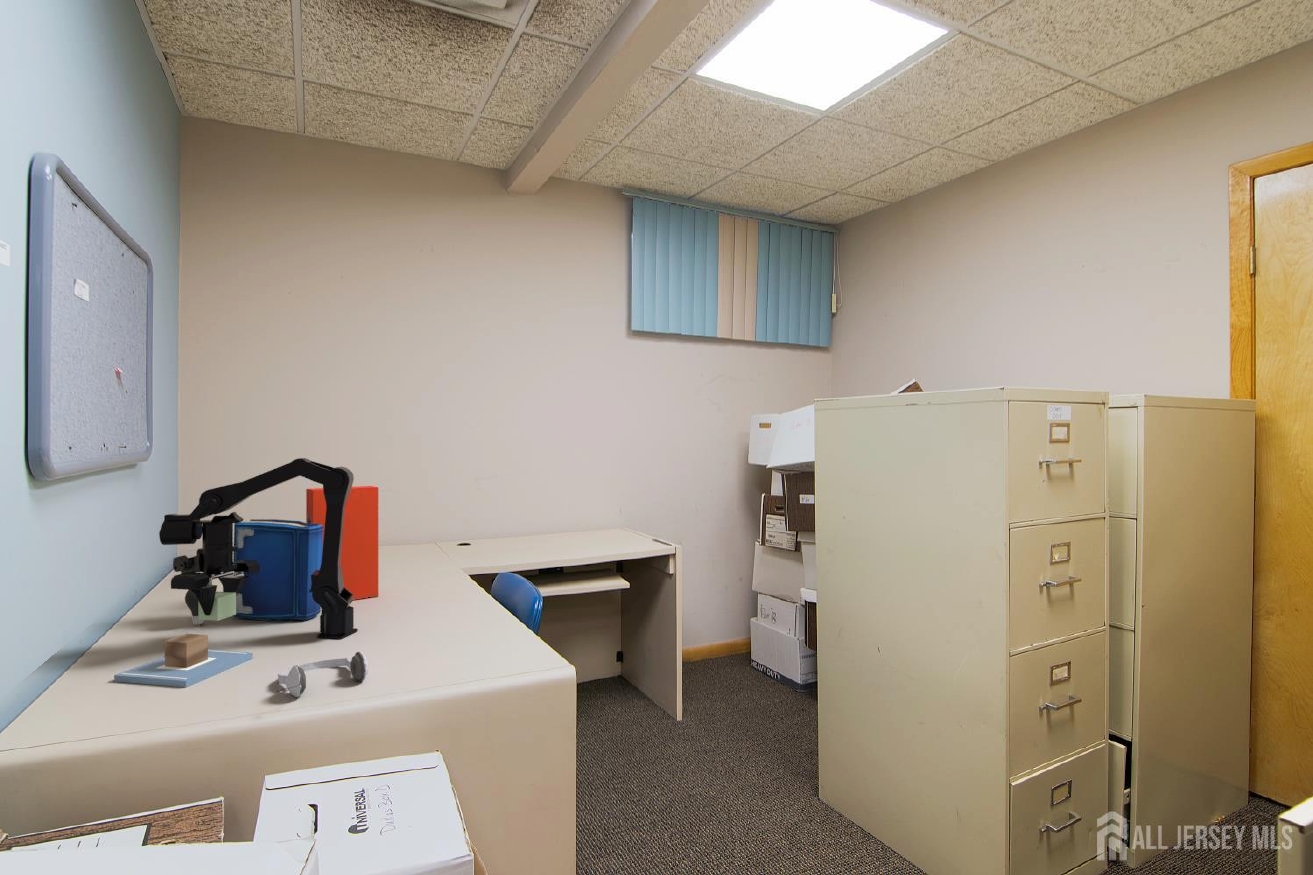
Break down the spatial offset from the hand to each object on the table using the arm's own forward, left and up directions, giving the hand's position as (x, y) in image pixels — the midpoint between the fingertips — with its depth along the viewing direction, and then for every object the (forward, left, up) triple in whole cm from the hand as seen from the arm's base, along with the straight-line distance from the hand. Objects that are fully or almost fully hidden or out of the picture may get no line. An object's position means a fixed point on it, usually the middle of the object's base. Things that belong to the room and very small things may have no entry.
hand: (217, 611), depth 148 cm
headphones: (-38, +17, -8) cm, 43 cm away
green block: (0, 0, -1) cm, 1 cm away
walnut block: (-7, +15, -6) cm, 18 cm away
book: (+2, -21, -7) cm, 22 cm away
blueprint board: (-7, +15, -7) cm, 18 cm away
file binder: (-2, -41, -7) cm, 42 cm away
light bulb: (+16, -11, -7) cm, 21 cm away
